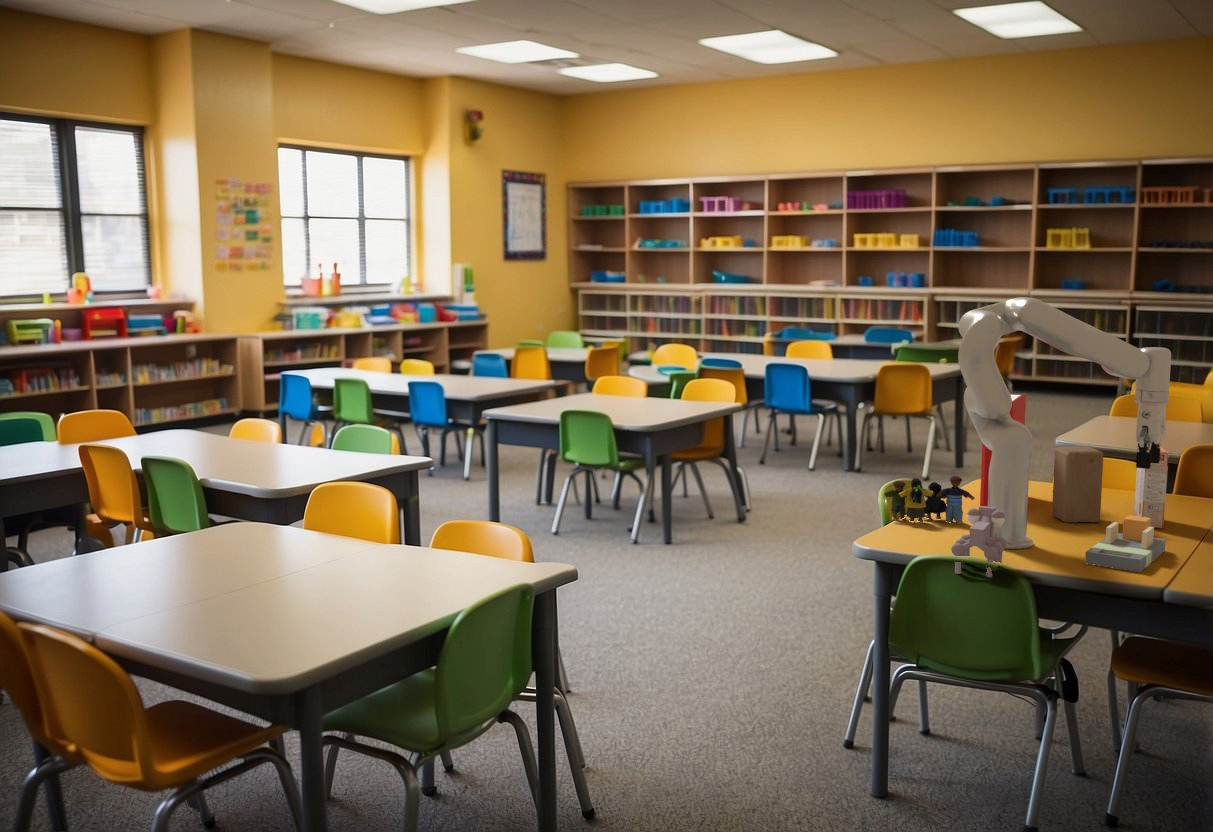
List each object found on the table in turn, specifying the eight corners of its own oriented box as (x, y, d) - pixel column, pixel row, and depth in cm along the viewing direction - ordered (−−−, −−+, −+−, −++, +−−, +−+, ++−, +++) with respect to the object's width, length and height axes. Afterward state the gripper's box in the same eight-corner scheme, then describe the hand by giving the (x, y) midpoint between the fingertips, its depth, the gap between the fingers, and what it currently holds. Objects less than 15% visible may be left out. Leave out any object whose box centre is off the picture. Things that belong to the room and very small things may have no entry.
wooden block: (1101, 523, 296) (1105, 451, 293) (1064, 523, 296) (1068, 451, 293) (1086, 515, 306) (1089, 445, 303) (1050, 515, 306) (1053, 445, 303)
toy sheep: (965, 553, 266) (970, 499, 264) (1011, 561, 261) (1016, 506, 259) (947, 573, 249) (952, 515, 247) (995, 581, 243) (1000, 523, 241)
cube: (1144, 541, 264) (1145, 521, 263) (1122, 538, 267) (1123, 518, 266) (1149, 537, 268) (1150, 517, 267) (1127, 534, 271) (1128, 515, 270)
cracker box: (1165, 529, 288) (1169, 452, 285) (1140, 528, 290) (1144, 451, 287) (1157, 518, 301) (1161, 444, 299) (1133, 516, 303) (1137, 443, 301)
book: (994, 493, 337) (998, 391, 333) (1021, 495, 333) (1026, 392, 329) (979, 510, 314) (982, 400, 309) (1008, 512, 310) (1012, 402, 306)
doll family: (963, 517, 305) (965, 470, 304) (975, 524, 296) (977, 476, 295) (882, 518, 305) (883, 471, 303) (891, 525, 296) (892, 478, 294)
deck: (1140, 572, 248) (1141, 542, 247) (1085, 564, 255) (1086, 535, 254) (1165, 551, 266) (1166, 523, 265) (1113, 543, 274) (1114, 516, 273)
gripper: (1160, 401, 260) (1155, 472, 262) (1176, 394, 273) (1172, 462, 275) (1126, 399, 264) (1122, 468, 267) (1143, 393, 278) (1140, 459, 280)
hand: (1147, 465), depth 271 cm, fingers open, 8 cm apart
